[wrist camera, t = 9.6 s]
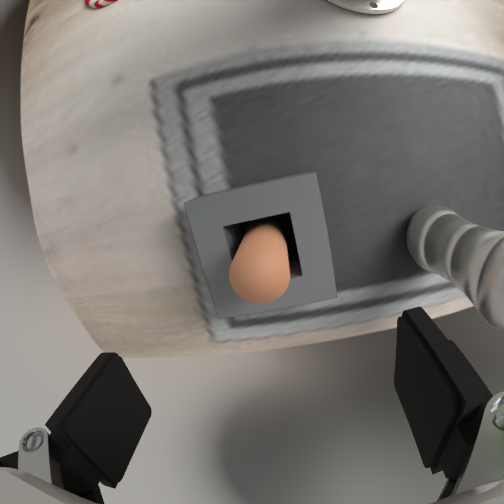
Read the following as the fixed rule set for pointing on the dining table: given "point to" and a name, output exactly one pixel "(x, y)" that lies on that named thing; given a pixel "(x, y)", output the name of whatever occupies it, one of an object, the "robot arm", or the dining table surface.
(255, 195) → the socket block
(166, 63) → the dining table surface
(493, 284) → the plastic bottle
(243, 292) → the peg
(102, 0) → the candy cane
